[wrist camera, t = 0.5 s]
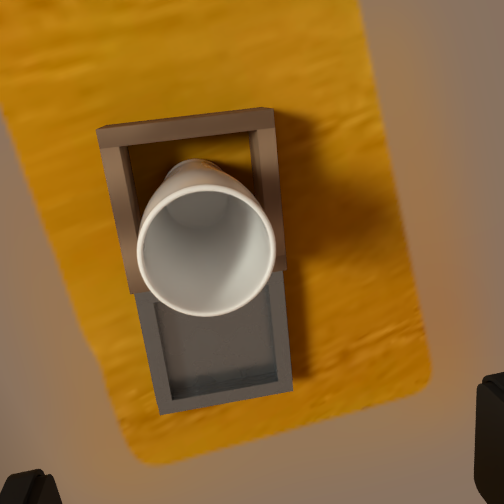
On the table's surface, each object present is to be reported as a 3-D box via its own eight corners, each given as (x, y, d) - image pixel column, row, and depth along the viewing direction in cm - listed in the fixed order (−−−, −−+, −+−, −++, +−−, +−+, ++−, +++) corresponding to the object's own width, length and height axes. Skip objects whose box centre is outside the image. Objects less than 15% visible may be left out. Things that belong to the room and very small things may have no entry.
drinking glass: (231, 240, 38) (263, 326, 24) (146, 227, 36) (126, 311, 22) (247, 156, 36) (292, 196, 22) (157, 140, 34) (143, 171, 20)
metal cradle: (133, 279, 37) (130, 291, 35) (279, 257, 39) (285, 267, 36) (157, 397, 41) (156, 415, 39) (290, 373, 43) (296, 390, 40)
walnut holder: (106, 125, 34) (95, 129, 29) (261, 107, 35) (273, 108, 30) (135, 271, 37) (130, 294, 33) (275, 250, 39) (287, 270, 34)
